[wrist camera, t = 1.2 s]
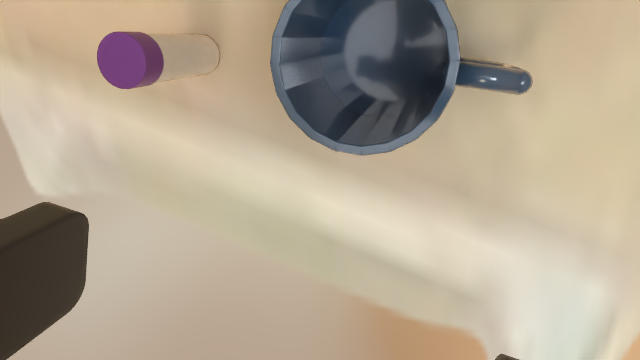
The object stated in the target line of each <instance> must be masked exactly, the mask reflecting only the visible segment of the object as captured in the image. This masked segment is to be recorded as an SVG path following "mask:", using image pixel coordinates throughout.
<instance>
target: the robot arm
mask: <svg viewBox="0 0 640 360" xmlns="http://www.w3.org/2000/svg"><path fill="white" fill-rule="evenodd" d="M88 231H89V224H88V219H87V217H86V216H85V215H84V214H82V213H80V212H77V211H74V210H71V209H68V208H65V207H62V206H59V205H56V204H53V203H50V202H42V203H40V204H37V205H35V206H32V207H30V208H27V209H25V210H23V211H20V212H18V213H16V214H14V215H11V216H9V217H6V218H4V219H0V360H6V359H7V358H9V357H10V356H12V355H13V354H14V353H16V352H17V351H18V350H20V349H21V348H22V347H24V346H25V345H26V344H27V343H29V342H30V341H31V340H33V339H34V338H35V337H37V336H38V335H39V334H41V333H42V332H43V331H44V330H46V329H47V328H49V327H50V326H51V325H53V324H54V323H55V322H56V321H58V320H59V319H60V318H62V317H63V316H64V315H66V314H67V313H68V312H69V311H70V310H71V309H72V308H73V307H74V306H75V305H76V303H77V302H78V300H79V298H80V297H81V295H82V292H83V290H84V286H85V281H86V264H87V248H88ZM495 360H519V359H516V358H513V357H510V356H507V355H504V354H500V355H499V356H497V358H496V359H495Z"/></svg>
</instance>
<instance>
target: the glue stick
mask: <svg viewBox="0 0 640 360" xmlns="http://www.w3.org/2000/svg"><path fill="white" fill-rule="evenodd" d="M97 61H98V66H99V69H100V71H101V73H102V75H103V76H104V78H105V79H106V80H107V81H108V82H109V83H111V84H112V85H114V86H115V87H118V88H121V89H131V88H137V87H143V86H148V85H151V84H153V83H156V82H162V81H168V80H174V79H180V78H186V77H192V76H198V75H205V74H209V73H211V72H212V71H214V70H215V68H216V67H217V65H218V63H219V49H218V47H217V45H216V43H215V42H214V41H213V40H212V39H211V38H210V37H208V36H206V35H201V34H145V33H141V32H113V33H110V34H108V35H107V36H106V37H104V38H103V40H102V41H101V43H100V45H99V47H98V51H97Z"/></svg>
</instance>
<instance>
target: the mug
mask: <svg viewBox="0 0 640 360" xmlns="http://www.w3.org/2000/svg"><path fill="white" fill-rule="evenodd" d="M270 64H271V65H270V66H271V71H272V76H273V81H274V85H275V90H276V93H277V96H278V98H279V99H280V101H281V103H282V105H283V107H284V109H285V110H286V112H287V114H288V116H289V118H290V119H291V120H292V121H293V122H294V123H295V124H296V125H297V126H298V127H299V128H300V129H301V130H302V131H303V132H304V133H305V134H306V135H307V136H308V137H310V138H311V139H313V140H314V141H316V142H318V143H320V144H322V145H324V146H326V147H328V148H330V149H332V150H335V151H338V152H344V153H349V154H355V155H371V154H378V153H386V152H390V151H393V150H395V149H397V148H399V147H402V146H404V145H406V144H408V143H410V142H412V141H414V140H416V139H417V138H419V137H420V136H421V135H422V134H423V133H424V132H425V131H426V130H427V129H428V128H429V127H430V126H432V125H433V124H434V123H435V122H436V121H437V120H438V118H439V117H440V116H441V114H442V112H443V110H444V109H445V107H446V105H447V103H448V102H449V100H450V98H451V96H452V95H453V91H454V90H455V86H460V87H467V88H474V89H481V90H488V91H495V92H502V93H509V94H515V95H520V94H524V93H526V92H527V91H528V90H529V89H530V88H531V86H532V82H533V80H532V76H531V75H530V73H529V72H527V71H526V70H523V69H520V68H518V67H515V66H512V65H510V64H505V63H498V62H491V61H483V60H476V59H468V58H461V57H460V49H459V40H458V31H457V27H456V24H455V22H454V20H453V18H452V16H451V14H450V11H449V9H448V7H447V5H446V3H445V1H444V0H289V1H288V2H287V3H286V5H285V6H284V8H283V10H282V13H281V15H280V18H279V20H278V23H277V25H276V28H275V30H274V33H273V37H272V49H271V61H270Z"/></svg>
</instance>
